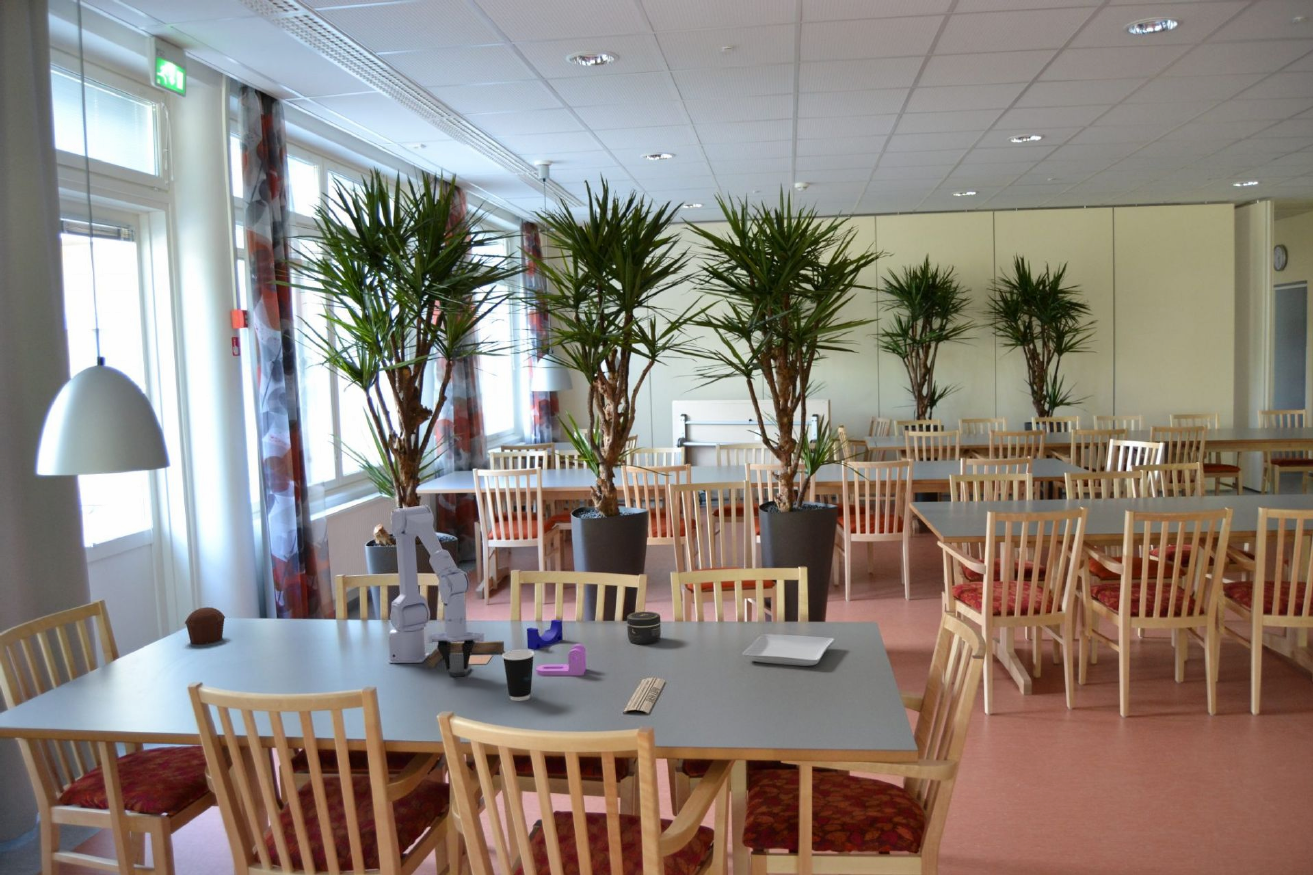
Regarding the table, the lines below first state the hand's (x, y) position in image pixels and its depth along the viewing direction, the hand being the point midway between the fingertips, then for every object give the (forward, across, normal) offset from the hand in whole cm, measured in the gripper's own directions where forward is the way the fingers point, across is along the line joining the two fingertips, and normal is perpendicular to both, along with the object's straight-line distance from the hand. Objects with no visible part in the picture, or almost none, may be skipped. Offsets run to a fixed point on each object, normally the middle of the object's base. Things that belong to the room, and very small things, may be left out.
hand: (457, 668), depth 260 cm
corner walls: (+2, -1, +15) cm, 15 cm away
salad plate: (+2, +89, +13) cm, 90 cm away
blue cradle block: (+2, +18, +29) cm, 35 cm away
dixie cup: (+2, +20, -18) cm, 27 cm away
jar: (+2, +48, +31) cm, 57 cm away
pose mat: (+2, 0, +14) cm, 14 cm away
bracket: (+2, +27, +2) cm, 27 cm away
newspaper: (+3, +52, -19) cm, 55 cm away
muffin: (+2, -89, +40) cm, 98 cm away
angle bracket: (+2, 0, +3) cm, 3 cm away
